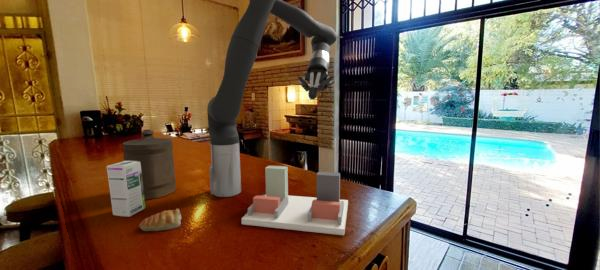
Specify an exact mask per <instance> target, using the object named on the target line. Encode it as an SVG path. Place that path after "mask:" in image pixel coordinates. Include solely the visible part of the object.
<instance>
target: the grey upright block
mask: <svg viewBox="0 0 600 270" xmlns="http://www.w3.org/2000/svg"><path fill="white" fill-rule="evenodd" d="M316 198H317V200H320V201H332V202H340V199H341V173H340V172H332V171H331V172H329V171H318V172H317V173H316Z"/></svg>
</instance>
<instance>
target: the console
mask: <svg viewBox="0 0 600 270" xmlns="http://www.w3.org/2000/svg"><path fill="white" fill-rule="evenodd" d="M348 206H349V200H348V199H341V198H340V202H332V201H320V200H317V197H312V196H301V195H289V194H288V197H285V198H284V199H283V201H282V202H280V197H270V196H266V194H261V195H255V196H254V197H252V204H250V206H249V207H248V208H247V212H246V213H245V214H244V216H242V217H241V225H245V226H254V227H255V226H256V227H262V228H263V227H264V228H272V229H273V228H274V229H283V230H289V231H290V230H291V231H292V230H293V231H300V232H301V231H302V232H311V233H320V234H328V235H337V236H345V232H346V225H347V215H348V208H349V207H348Z"/></svg>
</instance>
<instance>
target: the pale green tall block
mask: <svg viewBox="0 0 600 270" xmlns="http://www.w3.org/2000/svg"><path fill="white" fill-rule="evenodd" d="M264 169H265V171H264V172H265V195H266V196H270V197H280V202H282V201H283V199H284V198H285V197H288V195H289V178H288V177H289V176H288V173H289V171H288V170H289V169H288V166H284V165H267V166H266V167H265V168H264Z"/></svg>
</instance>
